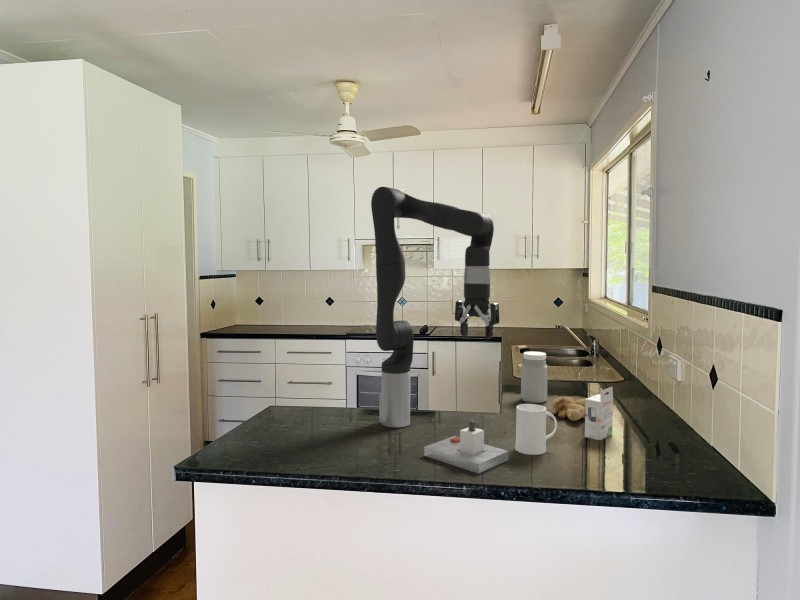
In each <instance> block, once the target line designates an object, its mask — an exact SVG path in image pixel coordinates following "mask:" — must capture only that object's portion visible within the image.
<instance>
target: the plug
mask: <svg viewBox="0 0 800 600" xmlns="http://www.w3.org/2000/svg"><path fill="white" fill-rule="evenodd" d="M476 422H477V421H476V420H475V419H474V420H473V419H471V420H470V419H469V421H468V427H466V428H463V429H460V430H459V437H460V452H462V453H465V454H469V455H472V456H476V455H479V454H481V453H483V452H484V444H485V430H484V429H481V428H477V427H476V426H477V425H476Z"/></svg>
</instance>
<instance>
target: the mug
mask: <svg viewBox="0 0 800 600" xmlns="http://www.w3.org/2000/svg"><path fill="white" fill-rule="evenodd" d="M515 411H516V412H515V415H516V416H515V445H514V450H515V451H517V453H520V454H523V455H531V456H538V455H543V454H545V453H546V452H547V448H546V447H547V446H546V445H547V443H546V441H547V440H549V439H550V438H552V437H553V436H554V435H555V433H556V432H557V430H558V429H557V428H558V421H557V418H556V416H554V414H553V413H552V412H550V411H547V407H546V406H543V405H541V404H537V403H523V404H522V403H520V404H518V405H516V408H515ZM547 416H549V417H551V418H552V419H553V420H554V429H553V431H552V432H551V433H549V434H547V433H546V432H547V431H546V430H547ZM546 434H547V435H546Z"/></svg>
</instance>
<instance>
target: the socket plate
mask: <svg viewBox="0 0 800 600" xmlns="http://www.w3.org/2000/svg"><path fill="white" fill-rule="evenodd" d="M423 448H424V449H423V451H424V454H423V455H424V457H426V458H430V459H433V460H436V461H438V462H442V463H445V464H448V465H451V466H454V467H456V468H459V469H460V468H461V469H463V470H466V471H469V472H472V473H475V474H481V473H483V472H486V471H488V470H490V469H492V468H495V467H496V466H499V465H501V464H503V463H505V462H507V461H509V450H506V449H503V448H499V447H495V446H493V445H489V444H485V443H484V452H483V453H481V454H479V455H476V456H472V455H469V454H465V453H462V452H460V436H457V435H452V436H451V437H448V438H445V439H442V440H439V441H437V442H434V443H431V444H429V445H425V446H424V447H423Z"/></svg>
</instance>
